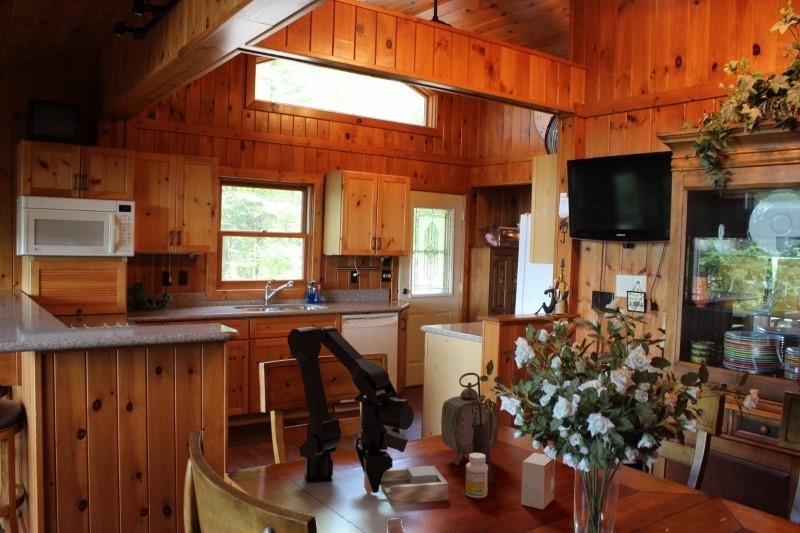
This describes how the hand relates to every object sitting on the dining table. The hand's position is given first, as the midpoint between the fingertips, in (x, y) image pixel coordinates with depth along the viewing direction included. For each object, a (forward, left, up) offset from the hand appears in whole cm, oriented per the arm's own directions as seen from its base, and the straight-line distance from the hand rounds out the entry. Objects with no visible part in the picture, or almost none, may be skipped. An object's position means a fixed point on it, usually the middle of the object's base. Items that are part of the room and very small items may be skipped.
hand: (371, 485), depth 153 cm
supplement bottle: (+26, -4, -3) cm, 26 cm away
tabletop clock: (+32, +20, -3) cm, 37 cm away
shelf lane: (+11, 0, -2) cm, 11 cm away
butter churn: (+31, +4, -3) cm, 31 cm away
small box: (+39, -11, -3) cm, 40 cm away
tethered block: (+7, 0, -1) cm, 7 cm away
